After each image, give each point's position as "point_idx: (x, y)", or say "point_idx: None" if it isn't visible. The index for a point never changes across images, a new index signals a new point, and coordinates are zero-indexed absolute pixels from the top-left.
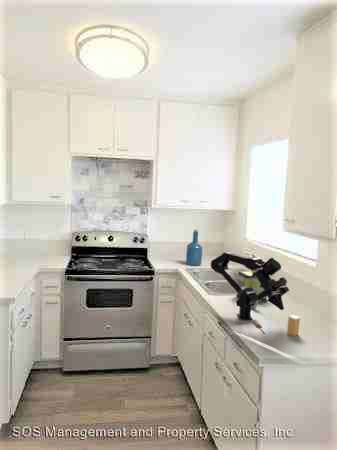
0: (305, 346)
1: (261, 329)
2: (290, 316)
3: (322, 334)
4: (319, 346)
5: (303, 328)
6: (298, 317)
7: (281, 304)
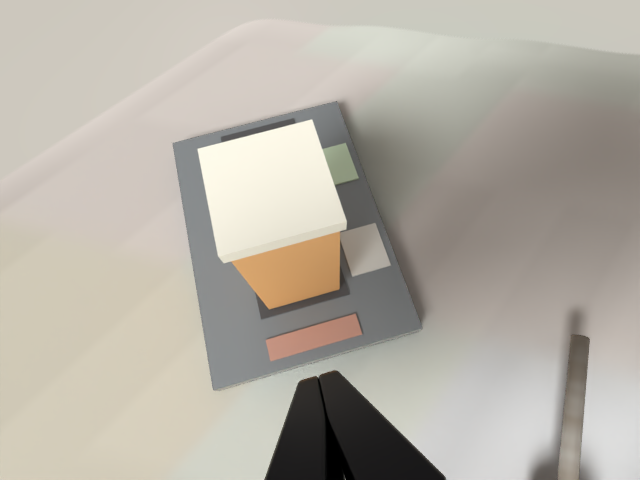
0: None
1: (576, 434)
2: (320, 202)
3: (2, 247)
4: (232, 100)
5: (23, 409)
6: (231, 148)
7: (327, 460)
